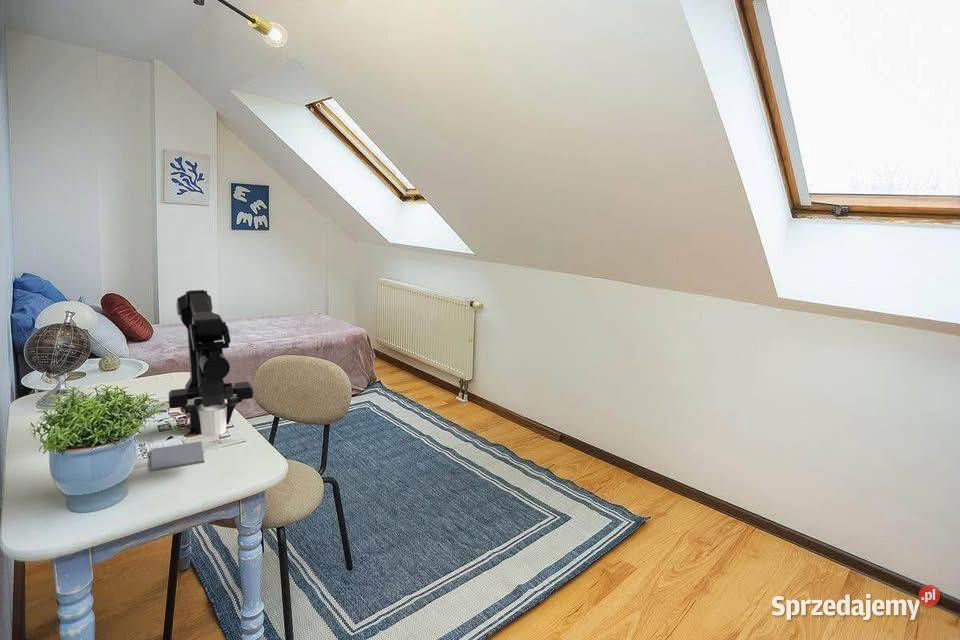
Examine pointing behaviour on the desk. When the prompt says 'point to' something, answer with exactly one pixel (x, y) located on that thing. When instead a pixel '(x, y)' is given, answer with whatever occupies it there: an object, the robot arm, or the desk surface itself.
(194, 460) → the coaster mat
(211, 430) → the white faceted cylinder
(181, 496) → the desk surface
